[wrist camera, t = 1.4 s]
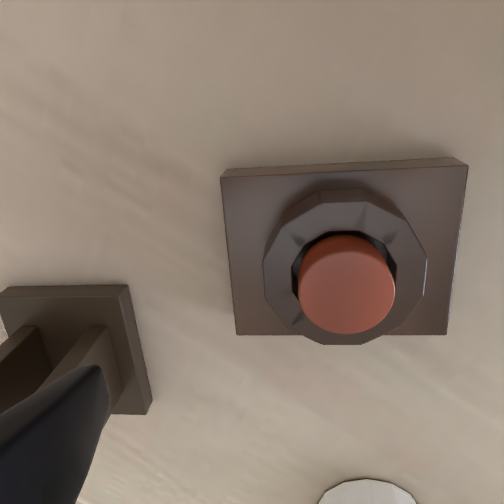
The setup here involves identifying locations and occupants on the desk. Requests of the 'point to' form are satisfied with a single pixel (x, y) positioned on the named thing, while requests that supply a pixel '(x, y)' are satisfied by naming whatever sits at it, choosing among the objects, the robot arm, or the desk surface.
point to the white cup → (366, 493)
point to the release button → (345, 285)
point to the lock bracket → (72, 342)
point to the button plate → (343, 223)
